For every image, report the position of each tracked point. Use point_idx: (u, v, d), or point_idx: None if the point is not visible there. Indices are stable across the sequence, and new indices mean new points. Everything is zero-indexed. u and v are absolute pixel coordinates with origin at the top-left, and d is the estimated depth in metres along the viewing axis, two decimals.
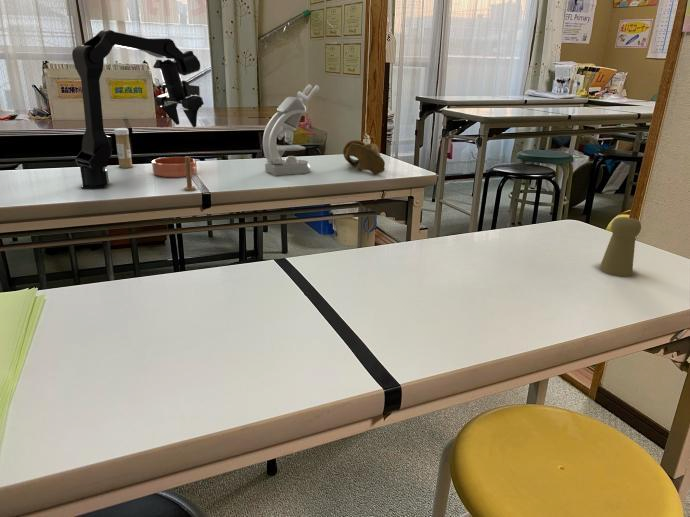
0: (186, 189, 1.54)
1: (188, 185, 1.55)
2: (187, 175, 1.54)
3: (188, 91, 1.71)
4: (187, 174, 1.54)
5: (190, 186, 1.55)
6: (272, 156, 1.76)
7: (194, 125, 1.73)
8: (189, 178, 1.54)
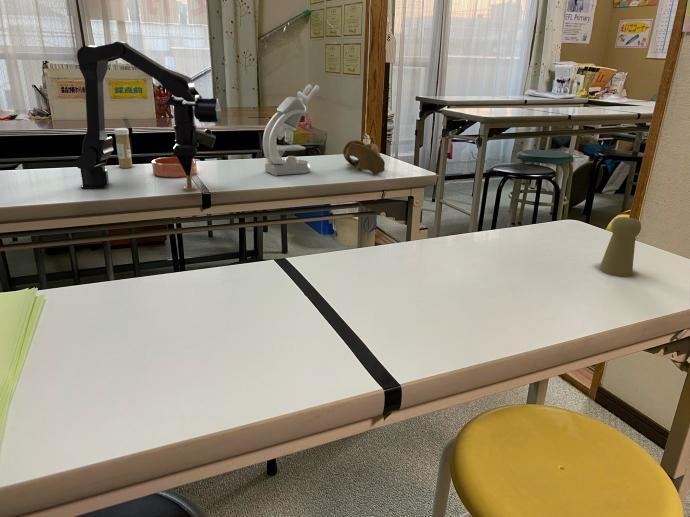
0: (186, 189, 1.54)
1: (188, 185, 1.55)
2: None
3: (194, 138, 1.48)
4: None
5: (190, 186, 1.55)
6: (272, 156, 1.76)
7: (187, 173, 1.53)
8: (189, 178, 1.54)
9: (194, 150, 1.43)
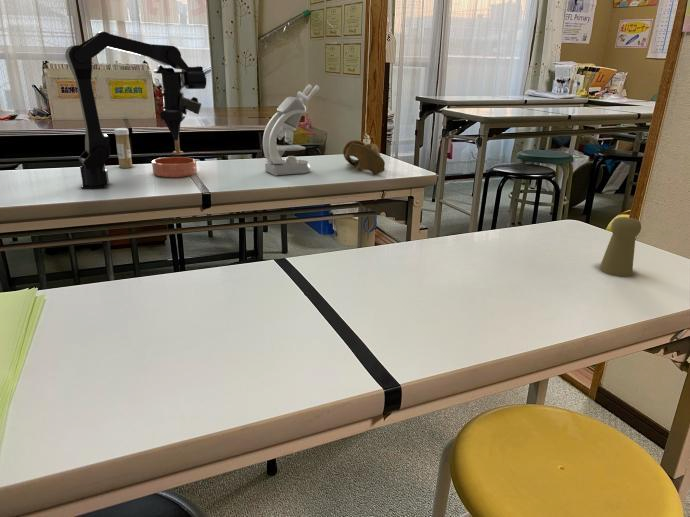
0: (174, 153, 1.66)
1: (176, 149, 1.66)
2: (175, 140, 1.65)
3: (181, 104, 1.59)
4: None
5: (178, 150, 1.66)
6: (272, 156, 1.76)
7: (175, 138, 1.64)
8: (177, 143, 1.65)
9: (180, 114, 1.55)
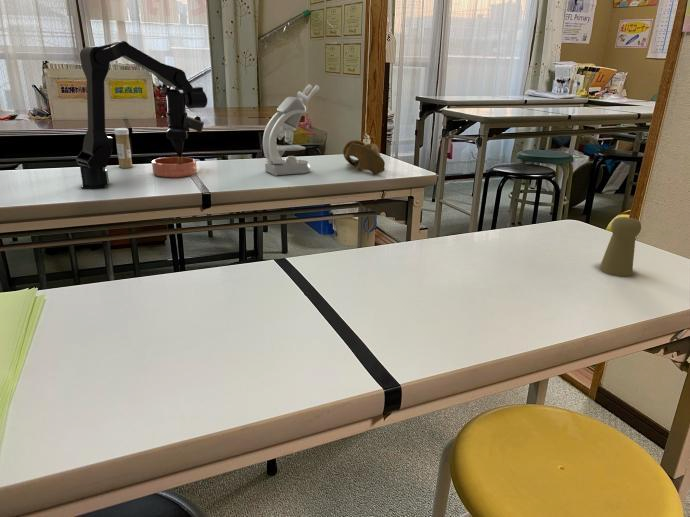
0: None
1: None
2: None
3: (185, 124, 1.69)
4: None
5: None
6: (272, 156, 1.76)
7: (179, 155, 1.73)
8: (180, 159, 1.75)
9: (185, 133, 1.64)
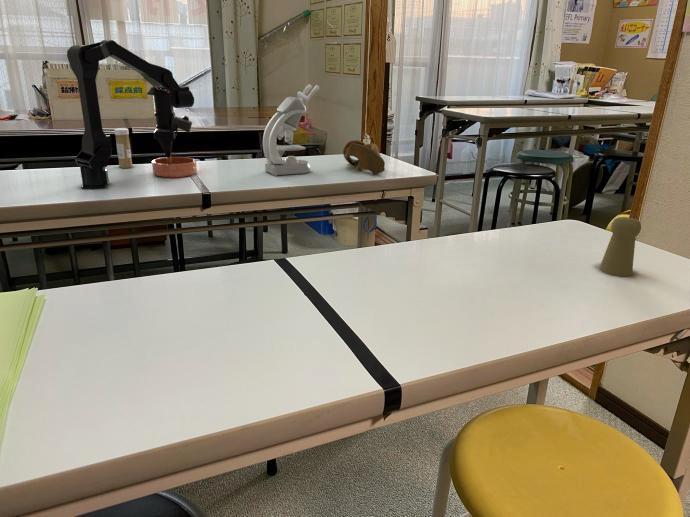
0: None
1: None
2: (167, 157, 1.74)
3: (173, 124, 1.68)
4: None
5: None
6: (272, 156, 1.76)
7: (167, 155, 1.73)
8: (169, 159, 1.74)
9: (172, 134, 1.63)
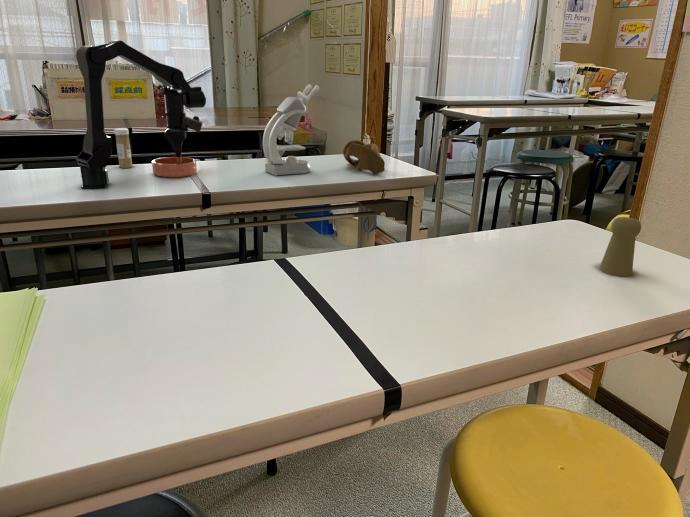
0: None
1: None
2: (178, 157, 1.73)
3: (183, 124, 1.68)
4: None
5: None
6: (272, 156, 1.76)
7: (178, 155, 1.73)
8: (179, 159, 1.74)
9: (183, 134, 1.63)
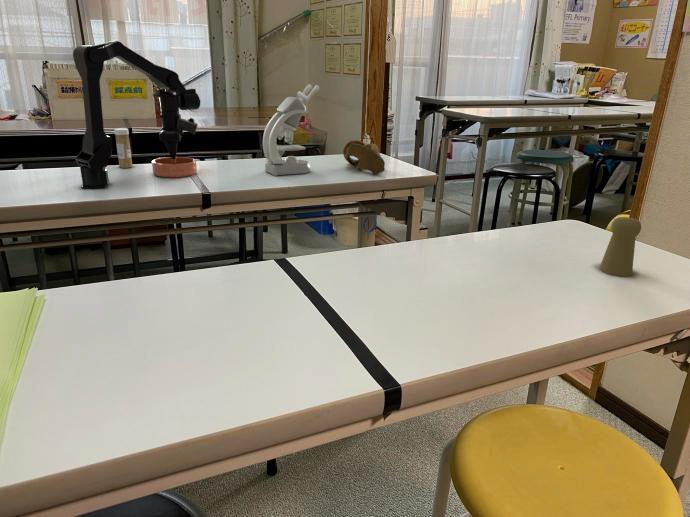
0: None
1: None
2: None
3: (178, 126, 1.68)
4: None
5: None
6: (272, 156, 1.76)
7: (172, 157, 1.73)
8: (174, 161, 1.74)
9: (178, 135, 1.64)
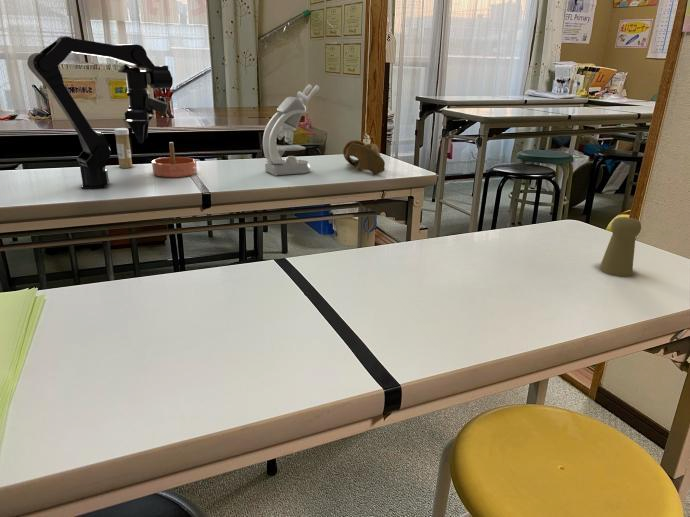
0: None
1: None
2: (171, 159, 1.74)
3: (147, 104, 1.56)
4: (171, 158, 1.74)
5: None
6: (272, 156, 1.76)
7: (140, 140, 1.57)
8: (173, 161, 1.74)
9: (145, 115, 1.51)
